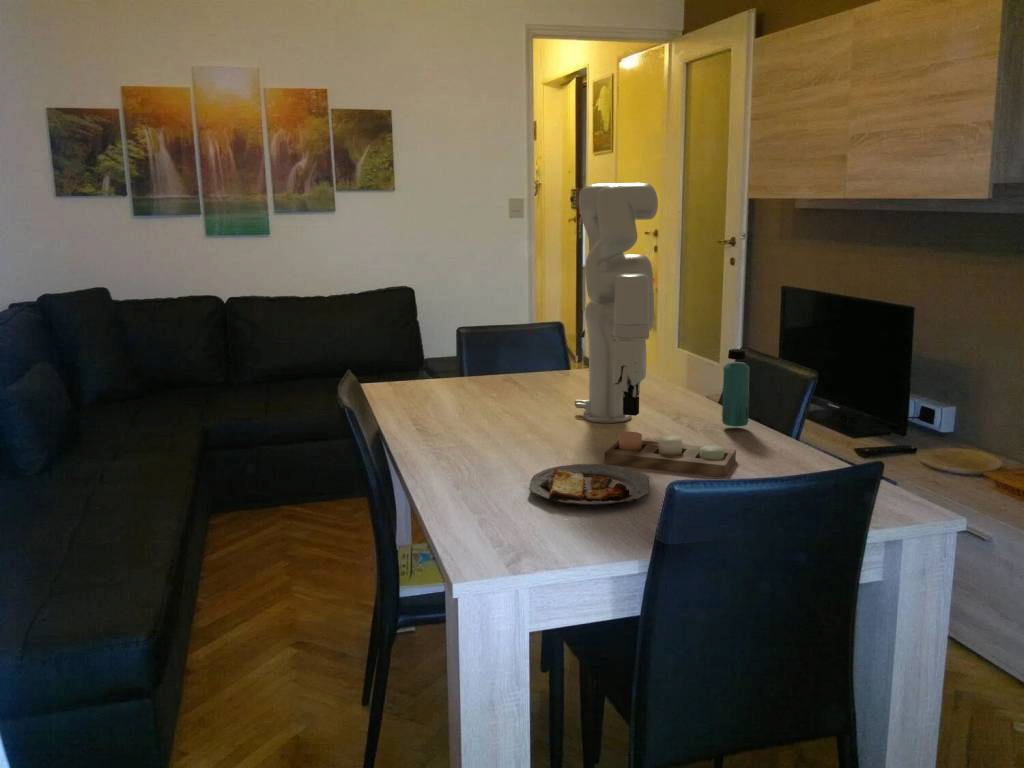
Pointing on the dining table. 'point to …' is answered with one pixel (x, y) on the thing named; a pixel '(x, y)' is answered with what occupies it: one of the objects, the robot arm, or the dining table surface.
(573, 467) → the food plate
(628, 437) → the terracotta button
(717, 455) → the sage button
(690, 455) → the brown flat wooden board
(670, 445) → the cream button
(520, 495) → the dining table surface
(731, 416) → the beverage bottle
